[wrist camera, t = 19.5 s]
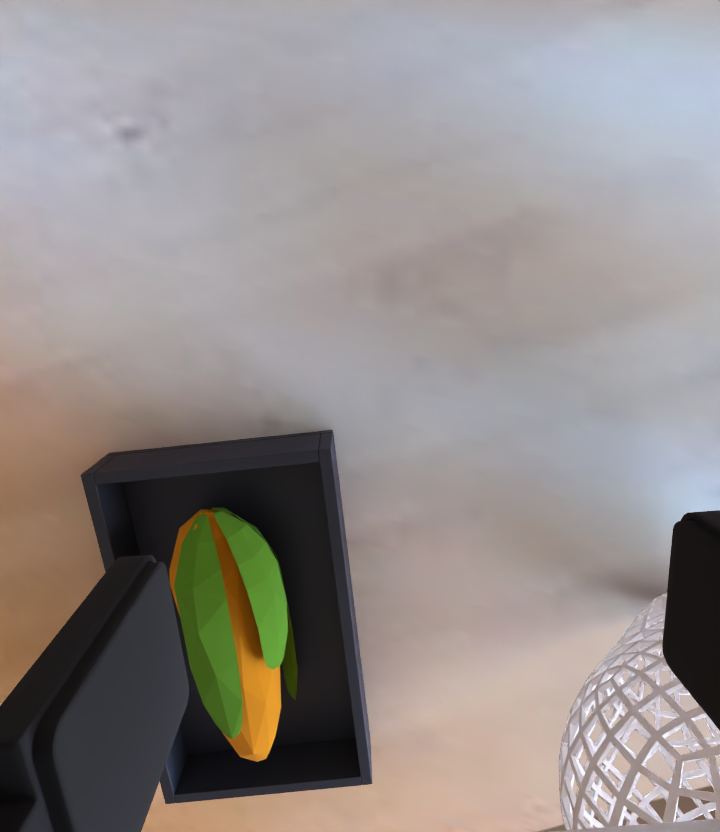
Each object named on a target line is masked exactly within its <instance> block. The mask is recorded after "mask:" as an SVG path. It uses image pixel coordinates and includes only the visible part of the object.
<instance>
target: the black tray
mask: <svg viewBox="0 0 720 832" xmlns="http://www.w3.org/2000/svg"><path fill="white" fill-rule="evenodd" d="M81 478H82V482H83V486H84V490H85V494H86V498H87V501H88V505H89V509H90V513H91V517H92V521H93V525H94V528H95V532H96V536H97V540H98V544H99V548H100V552H101V556H102V559H103V563H104V567H105V571H106V572H107V571H108V569H109V568H110V567H111V565H112V564H113V563H114V562H115V560H116V559H118V558H119V557H129V556H141V555H152V556H154V558H155V560H156V562H163V563H164V564H165V566H166V569H167V574H168V579H169V584H170V574H169V569H170V565H171V561H172V557H173V553H174V549H175V545H176V540H177V536H178V532H179V528H180V527H181V526H182V525H184V524H185V523H186V522H187V521H188V520H189V519H190V518H191V517H192V516H193V515H194V513H195V512H196V511H199V510H200V509H206V508H207V509H208V510H212V508H226V509H227V510H229V511H231V512H232V513H234V514H236V515H237V516H239V517H241V518H242V519H244V520H246V521H247V522H249V523H251V524H252V525H254V526H256V527H257V528H258V530H259V531H260V532H261V534H262V535H263V537H264V538H265V540H266V541H267V543H268V544H269V545H270V547H271V548H272V550H273V551H274V553H275V554H276V556H277V559H278V562H279V564H280V567H281V571H282V576H283V582H284V587H285V592H286V598H287V603H288V609H289V614H290V619H291V625H292V630H293V638H294V646H295V653H296V661H297V692H296V699H295V700H294V698H293V697H291V695H290V693H289V692H288V690H287V685H286V681H285V676H284V670H283V664H282V663H281V665H280V684H281V710H280V716H279V721H278V726H277V731H276V736H275V739H274V741H273V744H272V747H271V749H270V752H269V754H268V756H267V758H266V759H264V760H261V761H258V762H256V761H253V760H249V759H245V758H242V757H240V756H239V755H238V753H237V752H236V751H235V749H234V748H233V747H232V745H231V744H230V742H229V741H228V740H227V738H226V737H225V736H224V734H223V732H222V731H221V730H220V729H219V727H218V726H217V725H216V724H215V722H214V721H213V719H212V718H211V716H210V714H209V713H208V711H207V710H206V708H205V706H204V705H203V702H202V699H201V696H200V694H199V691H198V688H197V685H196V683H195V680H194V677H193V674H192V671H191V669H190V664H189V659H188V654H187V649H186V644H185V639H184V634H183V629H182V624H181V619H180V615H179V612H178V609H177V606H176V603H175V599H174V596H173V593H172V590H171V594H172V600H173V605H174V610H175V615H176V620H177V625H178V631H179V636H180V641H181V646H182V651H183V657H184V662H185V667H186V672H187V677H188V683H189V697H188V703H187V707H186V709H185V712H184V715H183V718H182V720H181V723H180V726H179V729H178V731H177V734H176V737H175V740H174V742H173V745H172V748H171V751H170V753H169V756H168V759H167V762H166V764H165V767H164V770H163V772H162V775H161V778H160V784H161V788H162V792H163V795H164V799H165V803H166V804H171V803H182V802H192V801H203V800H213V799H223V798H234V797H244V796H254V795H264V794H275V793H285V792H295V791H306V790H316V789H326V788H336V787H347V786H357V785H361V784H362V785H367V784H372V768H371V745H370V732H369V724H368V716H367V707H366V699H365V691H364V683H363V674H362V666H361V658H360V650H359V641H358V633H357V625H356V617H355V608H354V600H353V592H352V584H351V575H350V567H349V559H348V550H347V542H346V534H345V526H344V517H343V509H342V501H341V493H340V484H339V476H338V468H337V460H336V451H335V443H334V435H333V430H328V431H318V432H308V433H299V434H289V435H279V436H270V437H260V438H250V439H241V440H231V441H221V442H212V443H202V444H192V445H183V446H173V447H163V448H154V449H144V450H134V451H125V452H115V453H109V454H107V455H106V456H105V457H104V458H102V459H101V460H100V461H98V462H97V463H96V464H94V465H93V466H92V467H90V468H89V469H88V470H87V471H85V472H84V473H83V474H81ZM231 515H233V514H231ZM233 516H234V517H236V518H238V517H237V516H235V515H233ZM238 519H239V518H238ZM170 589H171V587H170Z"/></svg>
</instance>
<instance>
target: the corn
mask: <svg viewBox="0 0 720 832" xmlns="http://www.w3.org/2000/svg"><path fill="white" fill-rule="evenodd" d="M231 514H233V515H235V516H237V515H236V514H234V513H232V512H231V511H229V510H227V509H226V508H212V510H208V509H207V508H206V509H200V510H199V511H196V512H195V513H194V515H193V516H192V517H191V518H190V519H189V520H188V521H187V522H186V523H185V524H184V525H182V526H181V527H180V528H179V532H178V536H177V540H176V545H175V549H174V553H173V557H172V561H171V565H170V569H169V574H170V587H171V590H172V593H173V596H174V599H175V603H176V606H177V609H178V612H179V615H180V619H181V624H182V629H183V634H184V639H185V644H186V649H187V654H188V659H189V664H190V669H191V671H192V674H193V677H194V680H195V683H196V685H197V688H198V691H199V694H200V696H201V699H202V702H203V705H204V706H205V708H206V710H207V711H208V713H209V714H210V716H211V718H212V719H213V721H214V722H215V724H216V725H217V726H218V727H219V729H220V730H221V731H222V732H223V734H224V736H225V737H226V738H227V740H228V741H229V742H230V744H231V745H232V747H233V748H234V749H235V751H236V752H237V753H238V755H239V756H240V757H242V758H245V759H249V760H253V761H256V762H258V761H261V760H264V759H266V758H267V756H268V754H269V752H270V749H271V747H272V744H273V741H274V739H275V736H276V731H277V726H278V721H279V716H280V710H281V684H280V665H281V663H282V664H283V670H284V676H285V681H286V685H287V690H288V692H289V693H290V695H291V697H293V698H294V700H295V699H296V692H297V661H296V653H295V646H294V638H293V630H292V625H291V619H290V614H289V609H288V603H287V598H286V592H285V587H284V582H283V576H282V571H281V567H280V564H279V562H278V559H277V556H276V554H275V553H274V551H273V550H272V548H271V547H270V545H269V544H268V543H267V541H266V540H265V538H264V537H263V535H262V534H261V532H260V531H259V530H258V528H257V527H256V526H254V525H252V524H251V523H249V522H247V521H246V520H244V519H242V518H241V517H239V516H237V517H238V518H239V519H238V518H236V517H234V516H233V515H231Z"/></svg>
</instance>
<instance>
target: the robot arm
mask: <svg viewBox="0 0 720 832" xmlns="http://www.w3.org/2000/svg"><path fill="white" fill-rule="evenodd" d="M662 649H663V655H664V658H665V660H666V663H667V665H668V666H669V668H670V669H671V671H672V672H673V673H674V674H675V675H676V677H677V678H678V679H679V680H680V682H681V683H682V684H683V685H684V687H685V688H686V689H687V690H688V692H689V693H690V694H691V695H692V697H693V698H694V699H695V700H696V702H697V703H698V704H699V705H700V707H701V708H702V709H703V710H704V711H705V713H706V714H707V715H708V716H709V718H710V719H711V720H712V721H713V723H714V724H715V725H716V726H717V728H718V729H719V730H720V511H706V512H693V513H687V514H685V515H684V516H683V518H682V519H681V521H679V522H677V523H676V524H675V525H674V528H673V535H672V546H671V557H670V568H669V579H668V589H667V600H666V611H665V622H664V633H663V644H662ZM188 697H189V683H188V677H187V672H186V667H185V662H184V657H183V651H182V646H181V641H180V636H179V631H178V625H177V620H176V615H175V610H174V605H173V600H172V594H171V589H170V584H169V579H168V574H167V569H166V566H165V564H164V563H163V562H156V560H155V558H154V556H152V555H141V556H129V557H119V558H118V559H116V560H115V562H114V563H113V564H112V565H111V567H110V568H109V569H108V571H107V572H106V573H105V574H104V576H103V577H102V578H101V579H100V581H99V582H98V583H97V584H96V586H95V587H94V588H93V590H92V591H91V592H90V593H89V595H88V596H87V597H86V598H85V600H84V601H83V602H82V603H81V605H80V606H79V607H78V608H77V610H76V611H75V612H74V614H73V615H72V616H71V617H70V619H69V620H68V621H67V622H66V624H65V625H64V626H63V627H62V629H61V630H60V631H59V633H58V634H57V635H56V636H55V638H54V639H53V640H52V641H51V643H50V644H49V645H48V646H47V648H46V649H45V650H44V651H43V653H42V654H41V655H40V657H39V658H38V659H37V660H36V662H35V663H34V664H33V665H32V667H31V668H30V669H29V670H28V672H27V673H26V674H25V676H24V677H23V678H22V679H21V681H20V682H19V683H18V684H17V686H16V687H15V688H14V689H13V691H12V692H11V693H10V695H9V696H8V697H7V698H6V700H5V701H4V702H3V703H2V705H1V706H0V832H141V830H142V827H143V824H144V822H145V819H146V816H147V814H148V811H149V808H150V805H151V803H152V800H153V797H154V794H155V792H156V789H157V786H158V783H159V781H160V778H161V775H162V772H163V770H164V767H165V764H166V762H167V759H168V756H169V753H170V751H171V748H172V745H173V742H174V740H175V737H176V734H177V731H178V729H179V726H180V723H181V720H182V718H183V715H184V712H185V709H186V707H187V703H188ZM553 832H720V819H709V820H696V821H682V822H668V823H654V824H642V825H629V826H616V827H603V828H591V829H578V830H566V831H553Z"/></svg>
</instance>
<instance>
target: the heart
mask: <svg viewBox="0 0 720 832" xmlns="http://www.w3.org/2000/svg"><path fill="white" fill-rule="evenodd" d="M666 600H667V593H664V594H662V595H660V596H658V597H657V598H655V599H653V600H652V601H651V602H649V603H648V605H647V606H646V607H645V608H644V609H643V610H642V611H641V612H640V614H639V615H638V616H637V617H636V619H635V620H634V621H633V623H632V624H631V625H630V627H629V628H628V629H627V631H626V632H625V633H624V635H623V636H622V637H621V639H620V640H619V641H618V642H617V644H616V645H615V646H614V647H613V649H612V650H611V651H610V652H609V654H608V655H607V656H606V657H605V658H604V659H603V660H602V661H601V662H600V664H599V665H598V666H597V667H596V668H595V670H594V671H593V672H592V673H591V674H590V676H589V677H588V679H587V680H586V682H585V684H584V685H583V687H582V689H581V691H580V692H579V694H578V696H577V698H576V700H575V702H574V704H573V706H572V708H571V710H570V713H569V716H568V719H567V723H566V726H565V730H564V734H563V738H562V743H561V749H560V755H559V791H560V804H561V812H562V817H563V821H564V824H565V828H566V830H578V829H591V828H603V827H616V826H622V823H623V819H624V818H625V819H626V820H627V824H626V826H629V825H639V823H638V822H637V821H636V819H637V818H638V816H639V817H641V818H642V819H644V820H645V821H646V822H648V823H649V824H654V823H668V822H682V821H690V820H692V819H694V818H696V817H698V816H700V815H702V814H703V815H704V816H705V817H706V819H707V820H709V819H713V817H712V816H711V815H710V813H709V811H712V810H714V809H716V819H720V775H719V772H720V765H717V763H716V759H715V757H719V756H720V736H719V733H718V731H717V729H716V727H715V725H714V723H713V721H712V720H711V719H710V718H709V716H708V715H707V714H706V713H705V711H704V710H703V709H702V708H701V707H700V705H699V707H697V708H695V709H693V710H690V711H688V712H685V711H684V710H683V709H682V705H681V701H680V697H679V695H691V694H690V693H689V692H688V690H687V689H680V688H682V687H684V685H683V684H682V683H681V682H680V680H679V679H678V678H676V675H675V674H674V673H673V672H672V671H671V669H670V668H669V666H668V665H667V663H666V660H665V658H664V657H661V650H662V651H663V649H662V644H663V640H662V636H663V633H664V628H663V629H661V628H662V627H664V622H665V611H666ZM659 608H660V609H659ZM657 609H658V610H657ZM660 620H663V621H661V622H660ZM656 622H657V623H656ZM653 623H656V624H653ZM648 626H650V627H648ZM638 631H639V632H638ZM642 637H644V638H643V639H641V640H640V638H642ZM657 638H659V641H656V640H655V639H657ZM644 647H647V648H645V649H644ZM657 650H658V652H657V656H656V655H653V654H652V653H654V652H656V651H657ZM634 651H636V652H634ZM642 659H644V660H645V662H644V667H643V669H642V670H638V669H636V668H637V665H638V662H639V661H640V660H642ZM623 660H624V661H623ZM622 661H623V663H622V665H619V664H620V663H621V662H622ZM649 664H650V665H649ZM618 665H619V666H618ZM660 669H662V670H666V671H670V673H671V682H669V683H667V684H665V685H663V686H661V685H660ZM625 672H628V673H629V676H628V679H627V681H626V682H624V681H623V679H622V676H623V675H624V673H625ZM654 672H656V674H655V682H654V681H653V680H652V679H650V678H649V677H648V676H649V675H651V674H653V673H654ZM612 674H614V675H613V676H612V677H611V675H612ZM610 677H611V678H610ZM639 682H640V684H639V689H638V694H637V695H636V694H635V693H634V692H632V691H631V690H630V689H631V688H633V687H634V686H635V685H636V684H638V683H639ZM597 683H598V684H597ZM596 684H597V686H596V688H595V685H596ZM618 684H619V685H620V687H619V685H618ZM645 684H646V685H648V686H649V687H650V688H651V689H652V690H653V692H652V693H651V694H649V695H648V696H647V697H645V698H644V699H643V700H642V697H643V691H644V685H645ZM609 687H610V688H609ZM602 692H604V695H605V697H604V699H603V700H602ZM668 694H673V695H674V700H675V701H674V700H673V699H672V698H671V697H670V696H669V695H668ZM627 695H628V696H629V697H630V698H631V699H632V700H633V701H634V702H636V703H635V705H634V706H633V704H632V703H631V702H630V700H629V699H628V698H627ZM619 698H620V699H619ZM618 699H619V701H618V703H616V701H617V700H618ZM660 699H663V700H664V701H665V702H666V704H667V705H668V706H669V707H670V708H671V709H672V710H673V711H674V712H670V711H664V710H660ZM623 704H624V705H625V706H626V707H627V709H628V710H629V711H628V712H627V713H625V712H624V711H623V710H622V707H623ZM653 704H655V705H654V707H653V706H652V705H653ZM611 706H612V708H613V709H614V711H613V713H612V715H611V717H610V718H609V720H607V718H606V716H605V714H604V713H605V712H606V711H607V710H608V709H609V708H610V707H611ZM590 709H592V712H593V713H592V714H591V715H590V717H589V718H588V719H587V721H586V716H587V714H588V712H589V710H590ZM645 710H648V711H649V712H651V713H653V714H654V716H655V729H654V728H653V726H652V725H651V724H650V723H649V722H648V721H647V720H646V719H645V718H644V717H643V716H642V715H641V713H642V712H644V711H645ZM618 715H619V716H620V717H621V720H620V721H619V722H618V723H617V724H616V725H615V726H614V727H613V728H611V727H612V726H613V724H614V722H615V720H616V719H617V717H618ZM661 717H668V718H674V720H672V721H671V722H669V723H668V724H666V725H665V726H663V727H662V728H661ZM698 719H705V721H706V724H707V726H708V728H709V730H710V732H711V734H712V736H713V737H711V738H704V737H703V735H702V734H701V732H700V731H699V730H698V728H697V727H696V725H695V724H694V722H693V721H695V720H698ZM637 721H638V722H639V723H640V724H641V725H642V726H643V727H644V728H645V729H646V730H647V731H646V730H645V729H643V728H642V727H641V726H639V725H638V724H637ZM597 722H598V723H599V725H600V726H601V728H602V729H603V730H602V732H601V734H600V735H599V737H598V739H597V741H596V742H595V744H594V743H593V742H592V740H591V738H590V737H589V735H590V734H591V732H592V730H593V728H594V726H595V725H596V723H597ZM574 725H575V726H574ZM680 728H681V729H682V733H683V736H684V740H665V739H664V738H666V737H667V736H669V735H670V734H672V733H674V732H675V731H677V730H679V729H680ZM688 728H689V729H688ZM633 730H636V731H637V732H638V733H640V734H641V735H642V736H644V737H645V738H646V739H648V741H647V743H646V744H645V746H644V747H643V749H642V750H641V751H640V753H639V754H638V756H637V755H636V754H635V753H634V752H633V751H631V750H630V749H629V748H628V747H627V746H626V745H625V743H626V741H627V740H628V738H629V737H630V735H631V733H632V732H633ZM689 730H690V731H691V733H692V734H693V736H694V737H695V738H696V739H693V740H692V738H691V735H690V732H689ZM624 731H625V732H624ZM623 732H624V733H623ZM622 733H623V735H622V736H621V734H622ZM620 736H621V738H620V739H619V737H620ZM714 743H716V744H717V746H714V747H710V745H709V744H714ZM613 745H614V746H615V747H614V749H613V750H612V752H611V753H610V755H609V756H608V758H607V759H606V756H607V755H608V753H609V751H610V750H611V748H612V746H613ZM697 745H700V746H701V747H702V748H703V750H699V751H698V750H697V749H696V747H695V746H697ZM681 746H687V747H688V748H689V750H690V752H691V753H687V754H684V755H680V754H679V753H678V752H677V751H676V750H675V749H674V748H673V747H681ZM583 749H585V752H586V755H587V757H588V759H587V761H586V763H585V766H584V768H582V766H581V765H580V763H579V759H580V756H581V754H582V751H583ZM657 750H659V751H660V753H661V754H662V756H663V757H664V759H665V760H666V762H667V763H668V765H669V766H670V768H671V769H672V771H673V772H674V773H673V777H672V778H670V779H668V780H667V781H666V780H664V779H663V778H661V777H660V776H658V775H657V774H655V773H654V772H652V771H651V770H649V769H648V767H647V766H646V765H645V764H646V763H647V761H648V760H649V758H650V757H651V756H652V755H653V754H654V753H655V752H656V751H657ZM619 752H620V753H621V754H622V755H623V756H624V758H625V759H626V760H627V761H628V762H629V763H630V764H631V767H630V769H629V770H628V771H627V772H626V773H625V774H624V776H623V775H622V774H621V773H620V772H619V771H618V770H617V769H616V768H615V767H614V766H613V765H612V762H613V761H614V759H615V758H616V756H617V755H618V753H619ZM668 752H669V753H670V754H671V755H673V756H674V757H675V758H676V759H677V760H676V764H675V762H674V761H673V759H672V758H671V756H670V754H669V753H668ZM704 759H708V763H709V767H707V766H706V764H705V762H704V761H703V760H704ZM692 761H696V762H697V764H698V765H699V767H700V769H698V770H693V771H688V772H684V773H683V765H684V763H686V762H692ZM601 764H602V765H603V766H602V767H601ZM607 771H609V772H610V773H611V774H612V775H613V776H615V777H616V778H617V779H618V780H619V783H618V785H616V784H615V783H614V782H613V780H612V779H611V778H610V777H609V776H608V774H607ZM641 773H642V774H643V775H645V776H646V777H648V779H649V780H650V781H651V782H652V783H653V785H654V786H655V788H654V789H653V790H652V791H651V792H650V793H648V794H647V795H646V796H645V797H643V796H642V795H641V794H640V793H639V792H638V791H637V790H636V788H635V786H636V783H637V781H638V779H639V776H640V774H641ZM596 775H598V777H597V780H596V782H595V783H594V780H595V777H596ZM704 775H705V777H706V778H707V779H708V781H709V782H710V784H711V785H712V787H713V788H714V793H713V792H706V791H698V790H693V789H692V788H691V786H690V785H689V783H688V782H687V781H686V780H687V779H691V778H696V777H700V776H704ZM574 777H575V779H576V782H577V785H578V789H577V794H576V798H575V795H574V792H573V789H572V787H573V782H574ZM602 782H604V784H605V785H606V786H607V787H608V789H609V790H610V791H611V792H612V796H611V797H610V796H609V795H607V794H606V793H605V792H604V791H603V790H601V789H600V787H601V785H602ZM681 784H682V785H683V787H684V788H685V789H684V788H681ZM590 789H591V790H592V794H590V793H589V792H590ZM666 790H668V791H669V794H668V793H667V791H666ZM660 793H661V795H662V796H663V797H664V799H666V801H667V804H666V808H665V813H664V818H663V821H662V819H661V818H660V817H659V816H658V814H657V813H656V812H655V810H654V809H653V808H652V807H651V805H650V804H649V802H650V801H652V800H653V799H654V798H655V797H656V796H658V795H659V794H660ZM632 794H633V795H634V796H635V797H636V798H637V800H638V801H639V803H638V805H637V804H636V803H634V802H633V801H632V800H630V797H631V795H632ZM679 795H680V796H685V797H690V798H692V799H693V801H694V802H695V804H696V805H697V806H698V808H696V809H694V810H692V811H690V812H688V813H686V814H683V813H682V812H681V810H680V809H679V808H678V800H679ZM598 796H599V797H600V798H601V799H602V800H603V801H605V802H606V803H607V804H608V807H607V811H606V814H605V813H604V812H603V810H602V809H601V808H600V806H599V805H598V804H597V797H598ZM700 799H702V800H707V801H712V802H710V803H707V804H704V805H703V804H702V802H701V801H700ZM586 803H588V805H589V808H588V812H587V811H586V810H585V807H586ZM571 807H572V809H571ZM626 808H628V809H629V810H631V811H632V813H631V815H630V814H629V813H628V812H627V811H626ZM644 808H645V809H646V810H647V811H646V810H645V809H644ZM572 810H573V813H574V814H573V817H572ZM594 813H595V814H596V816H597V817H598V818H599V820H600V821H601V823H602V824H603V825H602V824H601V823H600V822H598V821H597V820H596V819H594V818H593V816H594ZM676 814H677V816H678V817H679V818H677V819H675V818H676Z"/></svg>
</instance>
